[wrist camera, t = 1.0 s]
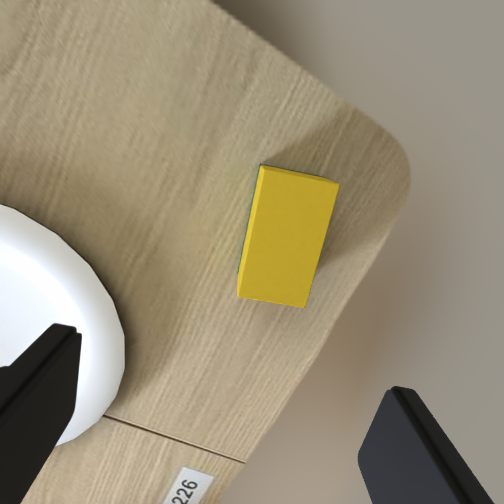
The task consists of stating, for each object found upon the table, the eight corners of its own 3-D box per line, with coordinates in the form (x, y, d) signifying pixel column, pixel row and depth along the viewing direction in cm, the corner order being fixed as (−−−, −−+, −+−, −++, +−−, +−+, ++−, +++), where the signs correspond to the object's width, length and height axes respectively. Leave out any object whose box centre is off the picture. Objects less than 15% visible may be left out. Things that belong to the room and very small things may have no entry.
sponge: (259, 163, 25) (264, 168, 21) (323, 176, 26) (340, 184, 21) (237, 272, 28) (237, 297, 23) (295, 282, 28) (305, 308, 24)
